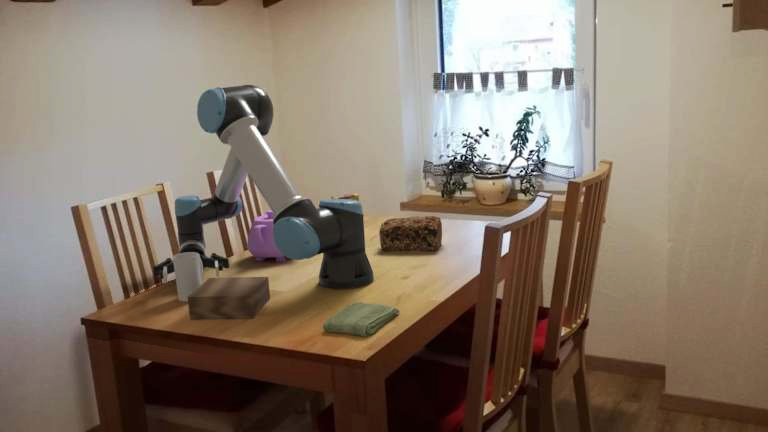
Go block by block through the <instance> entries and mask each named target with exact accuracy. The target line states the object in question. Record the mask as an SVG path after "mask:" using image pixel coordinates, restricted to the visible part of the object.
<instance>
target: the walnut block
mask: <svg viewBox="0 0 768 432" xmlns="http://www.w3.org/2000/svg"><path fill="white" fill-rule="evenodd" d="M269 282H270V281H269V276H241V277H240V276H239V277H237V276H236V277H235V276H234V277H233V276H232V277H231V276H230V277H209V278H207V279H206V280H205V281H204V282H202V283H201V286H200V287H198V288H197V289H196V290H195V291H194V292H193V293H192V294H190V295H189V296H188V302H187V303H188V311H189V312H188V313H189V320H190V321H216V320H217V321H218V320H219V321H220V320H223V321H227V320H230V321H231V320H254V319H255V317H256V316H257V315H258V314H259V312H260V311H261V310H262V309H263V308H264V307H265V305H266V304H267V303H268V302H269V301H270V299H271V295H270V292H271V291H270V284H269Z"/></svg>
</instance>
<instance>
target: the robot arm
mask: <svg viewBox="0 0 768 432" xmlns="http://www.w3.org/2000/svg"><path fill="white" fill-rule="evenodd" d="M196 108H197V110H196V115H197V120H198V123H199V125H200V127H201V129H202V130H203V131H204V132H206V133H208V134H212V135H213V134H215V135H216V136H217V137H218V139H219V141H220V142H221V143H222V144H224V145H229V147H230V149H229V152H228V153H227V154H228V155H227V157H226V160H225V162H224V165H223V168H222V172H221V173H220V176H219V178H218V181H217V184H216V186H215V190H214V192H213V195H212V197H208V198H204V199H200V197H199V196H198V195H195V194H194V195H193V194H192V195H183V196H179V197H177V198H175V200H174V216H175V221H176V226H177V227H176V228H177V239H178V247H179V248H178V249H179V250H178V254H180V253H185V252H196V253H198V254H199V255H200V258H201V260H202V264H203V269H205V268H210V269H214V270H215V275H216V277H215V278H220V272H221V271H222V272H223V270H224V269H230V262H229V260H230V259H229V258H227V257H224V256H221V255H219V254H217V253H216V252H212V253H211V254H210V256H207V255H206V241H205V236H204V225H207V224H210V223H211V224H212V223H215V222H221V221H223V220H229V219H232V218H233V217H236V216H238V215H240V214H241V212H242V209H243V207H242V205H243V203H242V202H243V201H242V200H241V198H240V195H241V193H242V190H243V188H244V185H245V183H246V180H247V178H248V176H249V177H250V178H251V181H252V182H253V183H254V185H255V187H256V188H257V189H258V191H259V193H260V194H261V196H262V197H263V199H264V201H265V202H266V203H267V205H268V207H269V208H270V210H272V212H273V213H274V217H273V224H274V228H273V235H274V236H275V238H274V242H275V244H276V246H277V248H278V249H279V251H280V252H281V253H282V254H283V255H284V257H285V258H287V259H290V260H293V261H301V260H304V259H305V260H308V259H312V258H314V257H316V256H319V255H321V254H322V255H323V256H322V260H321V264H320V268H319V272H318V283H319V285H320V286H321V287H323V288H326V289H333V290H347V289H355V288H360V287H364V286H367V285H369V284H371V283H372V282H373V281H374V279H375V278H374V271H373V267H372V266H371V263H370V260H369V258H368V255H367V253H366V240H365V239H366V238H365V226H364V225H365V222H364V221H365V220H364V212H363V205H362V203H361V202H360V200H359V201H356V200H349V199H331V198H328V199H327V198H326V199H321V200H320V201H319V204H318V207H319V208H316V205H315V204H314V203H313V201H312V200H311V198H309V197H304V196H302V195H301V194H300V192H299V190H298V189H297V187H296V186H295V184H294V183H293V181H292V179H291V178H290V177H289V175H288V174H287V172H286V170H285V169H284V167H283V166H282V164H281V163H280V161H279V160H278V158H277V156H276V154H275V153H274V152H273V150H272V149H271V148H270V146H269V144H268V143H267V141H266V140H265V138H264V137H265V136H267V135H269V132H270V130H271V127H272V124H273V120H274V105H273V103H272V99H271V98H270V96H269V94H268V93H267V92H266V91H265V90H264V89H263V88H261V87H259V86H257V85H253V84H243V85H238V86H237V85H235V86H225V87H220V86H218V87H214V88H211V89H210V88H209V89H207V90H205V91H204V92H202V94H201V95H200V97H199V99H198V102H197V106H196ZM152 270H153V277H158V276H159V278H160V279H161V280H163V283H164V284H167V283H168V277H169V275H170V274H172V273H175V270H174V263H173V258H171V257H167V258H166V259H165V260H163V261H162V262H160V263H159V264H156V265H155V266H152Z"/></svg>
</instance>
